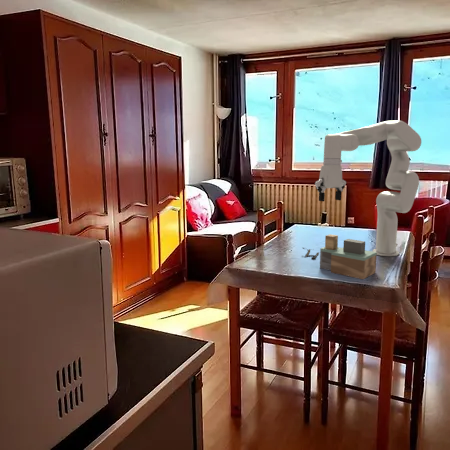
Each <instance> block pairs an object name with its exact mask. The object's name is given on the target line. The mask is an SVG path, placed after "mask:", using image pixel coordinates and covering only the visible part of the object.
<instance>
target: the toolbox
mask: <svg viewBox="0 0 450 450" xmlns="http://www.w3.org/2000/svg"><path fill="white" fill-rule="evenodd" d="M319 269H323V270H327V271H330V273H332V274H337V275H341V276H345V277H351V278H355V279H361V280H365V279H367V278H368V277H370V276H373V275H374V274H376V272H377V271H376V269H377V255H375V256H373V257H371V258H369V259H367V260H365V261H362V260H357V259H352V258H346V257H341V256H336V255H331V253H328V252H323V251H320V250H319Z"/></svg>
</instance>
